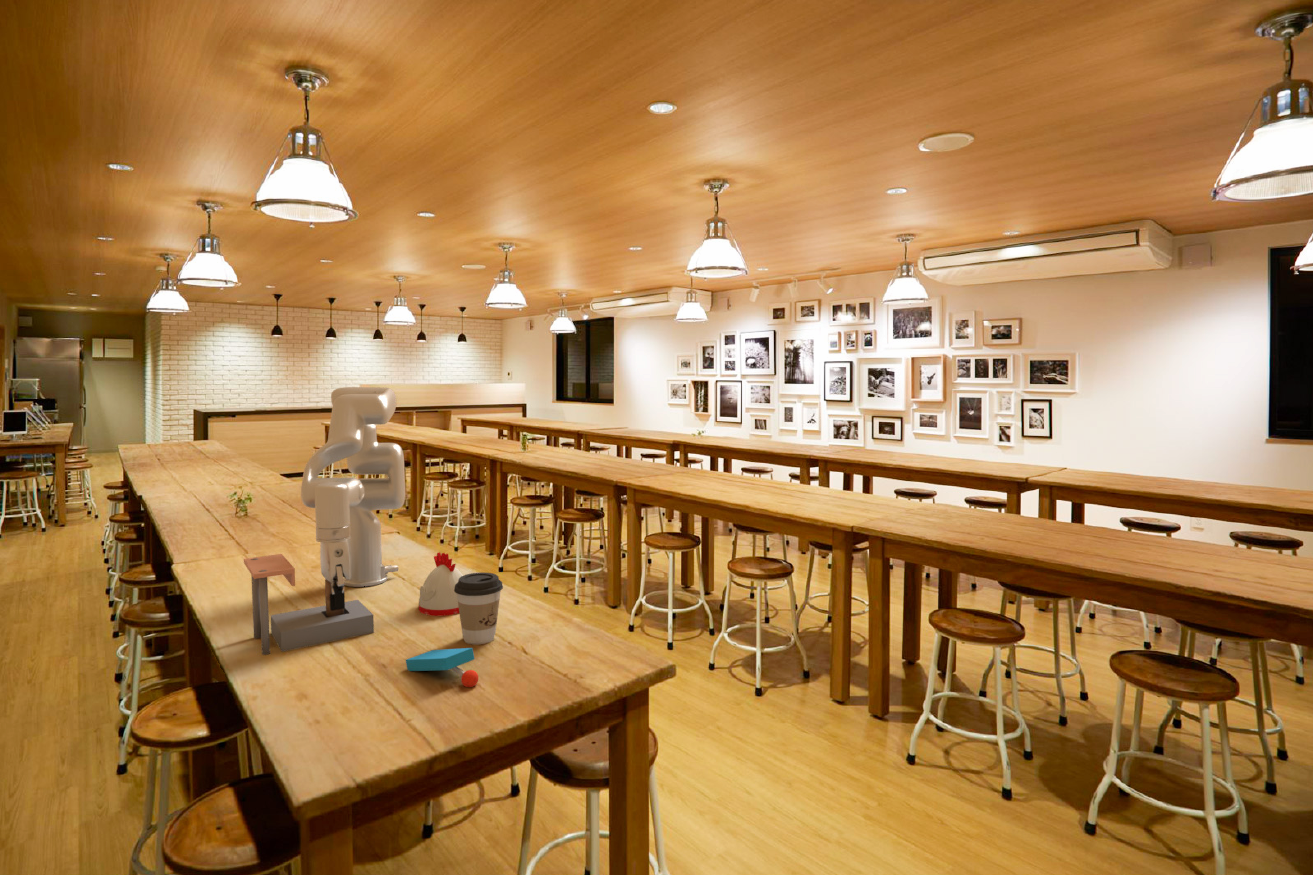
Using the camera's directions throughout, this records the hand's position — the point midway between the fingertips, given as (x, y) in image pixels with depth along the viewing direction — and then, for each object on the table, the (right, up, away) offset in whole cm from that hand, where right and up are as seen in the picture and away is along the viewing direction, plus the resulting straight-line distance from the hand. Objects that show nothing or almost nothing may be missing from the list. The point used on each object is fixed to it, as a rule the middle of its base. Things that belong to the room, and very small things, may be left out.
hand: (335, 606), depth 167 cm
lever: (+35, -9, -24) cm, 43 cm away
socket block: (-2, -6, -1) cm, 7 cm away
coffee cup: (+36, -7, -4) cm, 37 cm away
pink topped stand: (-11, -7, -8) cm, 15 cm away
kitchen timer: (+21, -5, +19) cm, 29 cm away
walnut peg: (0, -2, 0) cm, 2 cm away
